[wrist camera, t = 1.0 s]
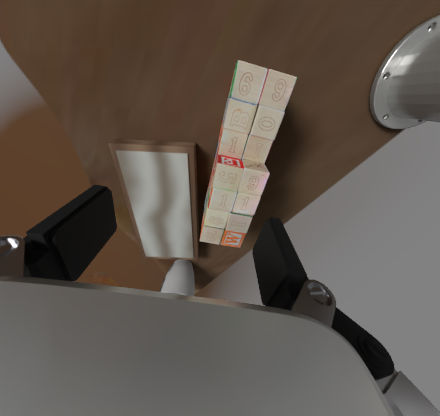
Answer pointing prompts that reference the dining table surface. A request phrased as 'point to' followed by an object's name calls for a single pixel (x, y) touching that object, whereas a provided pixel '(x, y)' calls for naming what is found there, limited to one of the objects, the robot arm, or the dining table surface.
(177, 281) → the cup
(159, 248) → the picture frame
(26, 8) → the dining table surface
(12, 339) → the robot arm
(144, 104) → the dining table surface
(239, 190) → the stack of blocks
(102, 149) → the dining table surface
